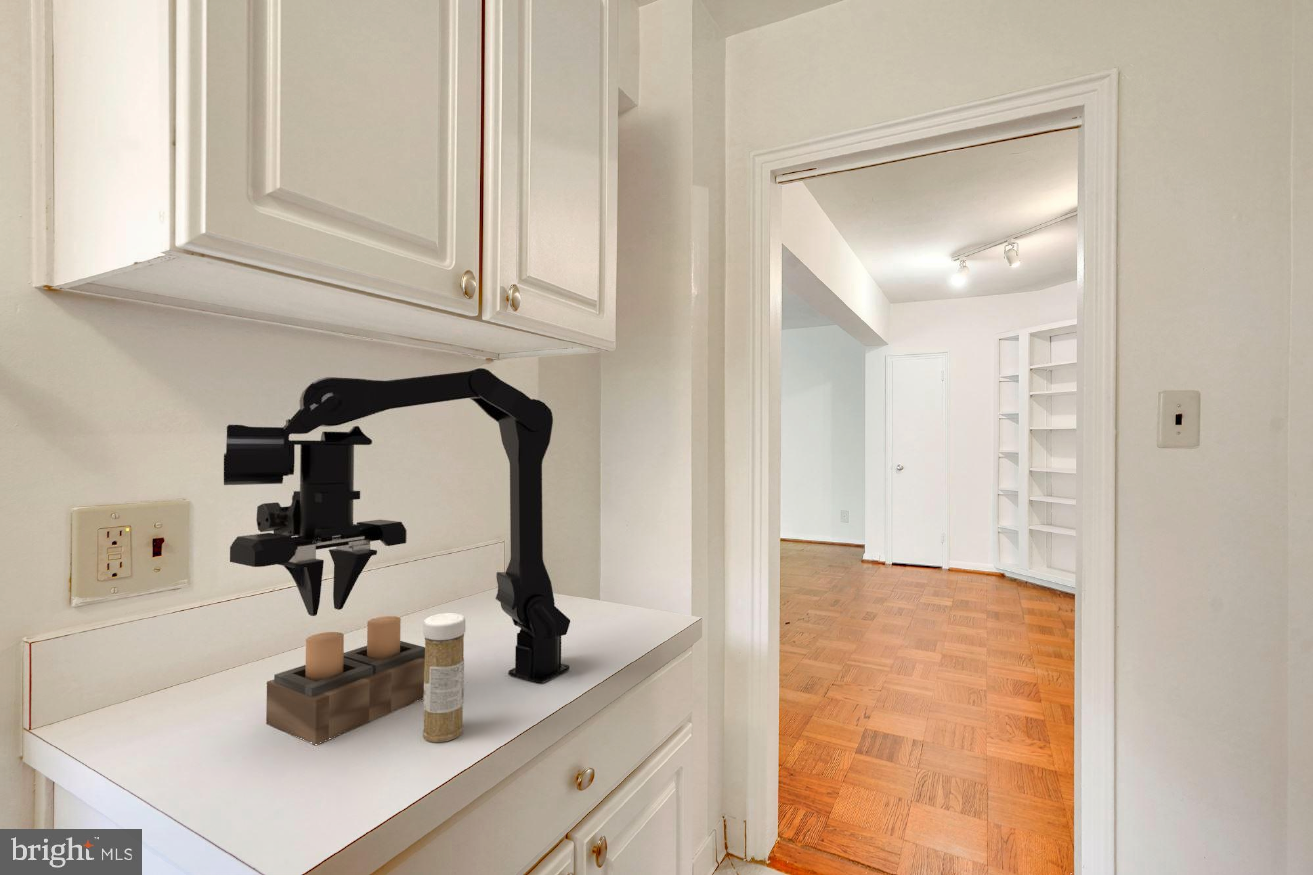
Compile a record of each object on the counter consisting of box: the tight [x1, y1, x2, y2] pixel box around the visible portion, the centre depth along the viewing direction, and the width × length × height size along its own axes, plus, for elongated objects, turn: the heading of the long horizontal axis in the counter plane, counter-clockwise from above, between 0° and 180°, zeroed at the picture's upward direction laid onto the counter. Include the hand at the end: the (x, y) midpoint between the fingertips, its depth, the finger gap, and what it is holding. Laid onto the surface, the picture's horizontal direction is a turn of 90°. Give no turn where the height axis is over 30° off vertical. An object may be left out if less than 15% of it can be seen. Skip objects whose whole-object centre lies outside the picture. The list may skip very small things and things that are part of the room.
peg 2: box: [366, 615, 402, 660], centre depth 80 cm, size 4×4×6 cm
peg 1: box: [305, 631, 345, 682], centre depth 73 cm, size 4×4×6 cm
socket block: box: [265, 640, 425, 745], centre depth 76 cm, size 16×10×6 cm, turn 150°
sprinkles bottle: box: [422, 612, 466, 743], centre depth 70 cm, size 5×5×14 cm
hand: (325, 612), depth 73 cm, fingers open, 3 cm apart
